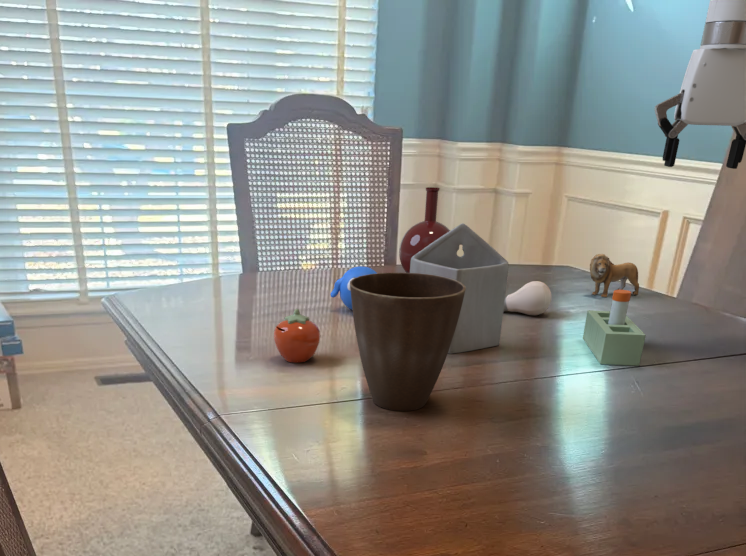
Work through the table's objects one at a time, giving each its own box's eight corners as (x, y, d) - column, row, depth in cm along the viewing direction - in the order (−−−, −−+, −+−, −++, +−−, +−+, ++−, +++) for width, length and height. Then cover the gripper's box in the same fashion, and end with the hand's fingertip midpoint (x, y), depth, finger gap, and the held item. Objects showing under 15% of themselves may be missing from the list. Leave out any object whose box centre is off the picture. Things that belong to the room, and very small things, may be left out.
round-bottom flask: (391, 276, 184) (396, 185, 174) (444, 275, 186) (452, 185, 176) (405, 288, 173) (411, 191, 163) (461, 287, 175) (470, 191, 165)
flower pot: (476, 404, 107) (489, 285, 99) (404, 430, 98) (413, 302, 90) (396, 378, 116) (402, 268, 108) (324, 400, 107) (325, 281, 99)
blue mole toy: (330, 320, 146) (331, 274, 142) (329, 305, 157) (330, 262, 152) (393, 320, 147) (396, 275, 143) (388, 306, 157) (390, 263, 153)
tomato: (268, 355, 126) (267, 305, 122) (311, 351, 128) (311, 302, 124) (281, 368, 120) (280, 316, 116) (326, 363, 122) (327, 312, 118)
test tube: (617, 349, 133) (629, 289, 128) (621, 354, 130) (633, 293, 125) (600, 348, 133) (612, 289, 128) (604, 353, 130) (615, 292, 125)
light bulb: (490, 288, 151) (547, 277, 147) (496, 289, 157) (551, 278, 153) (494, 323, 153) (551, 312, 148) (500, 322, 158) (555, 312, 154)
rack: (582, 338, 138) (587, 310, 136) (617, 339, 138) (623, 311, 136) (600, 364, 125) (606, 333, 122) (639, 365, 124) (645, 335, 122)
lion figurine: (595, 300, 166) (603, 256, 162) (578, 295, 170) (585, 252, 166) (645, 294, 172) (654, 252, 167) (627, 289, 176) (636, 248, 172)
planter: (401, 350, 129) (408, 227, 120) (405, 338, 136) (413, 220, 126) (499, 357, 127) (514, 232, 117) (499, 344, 134) (513, 225, 124)
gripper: (779, 41, 116) (747, 167, 125) (662, 39, 117) (638, 164, 126) (800, 37, 110) (765, 170, 118) (676, 35, 111) (650, 167, 119)
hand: (699, 167), depth 122 cm, fingers open, 9 cm apart
